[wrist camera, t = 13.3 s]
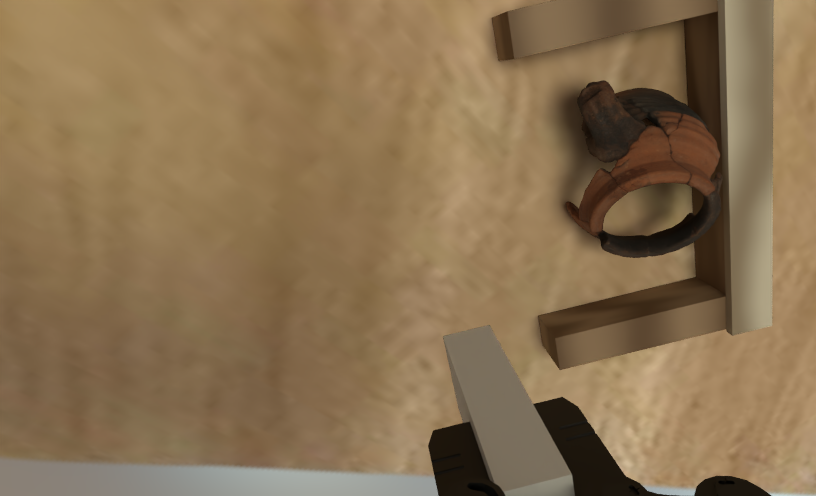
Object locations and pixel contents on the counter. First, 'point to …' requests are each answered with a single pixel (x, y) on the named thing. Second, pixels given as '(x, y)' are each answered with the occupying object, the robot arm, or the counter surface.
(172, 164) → the counter surface
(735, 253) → the walnut pocket
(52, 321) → the counter surface
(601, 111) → the brown broken pot
